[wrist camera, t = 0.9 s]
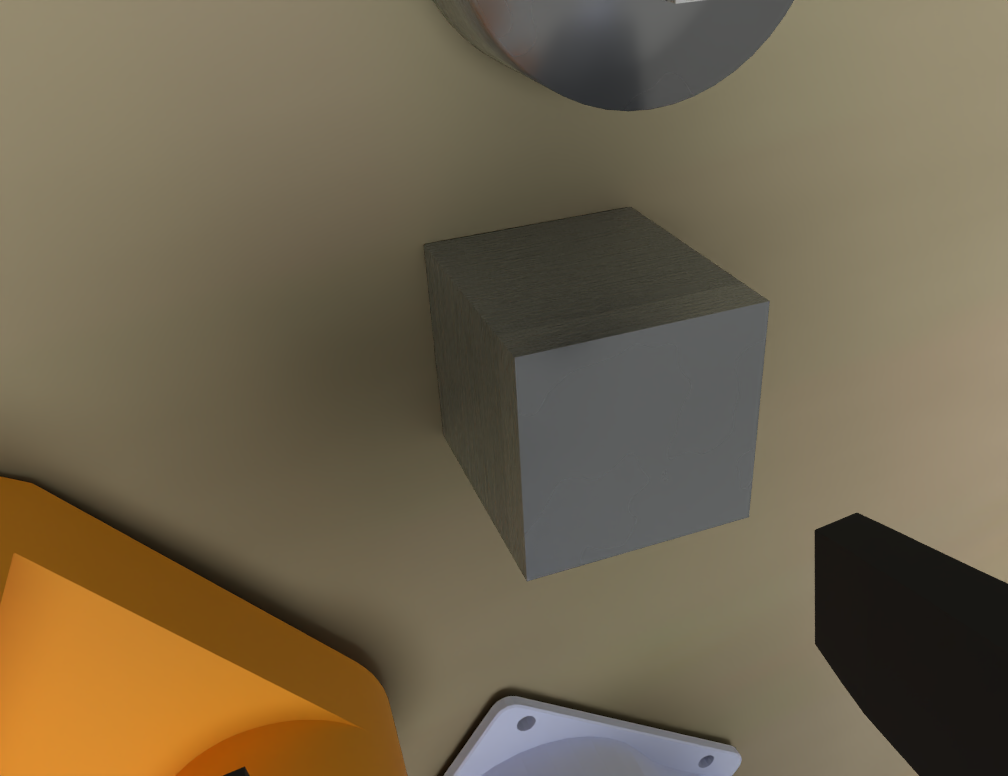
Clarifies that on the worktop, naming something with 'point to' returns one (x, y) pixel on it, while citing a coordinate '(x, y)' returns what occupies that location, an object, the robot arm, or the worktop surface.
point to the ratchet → (619, 44)
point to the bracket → (162, 665)
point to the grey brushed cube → (596, 384)
